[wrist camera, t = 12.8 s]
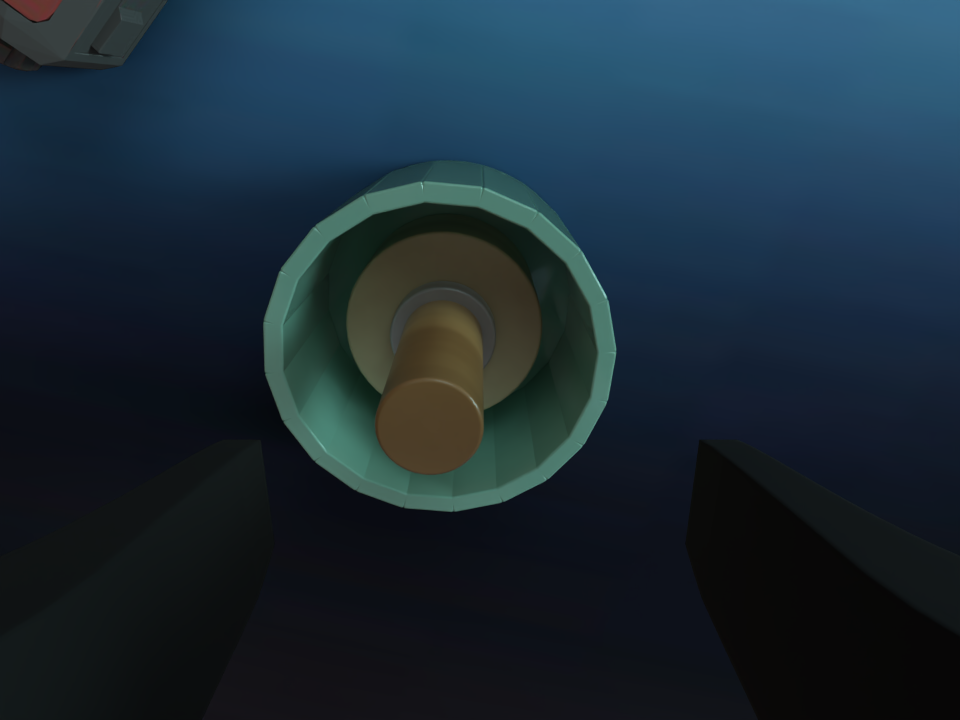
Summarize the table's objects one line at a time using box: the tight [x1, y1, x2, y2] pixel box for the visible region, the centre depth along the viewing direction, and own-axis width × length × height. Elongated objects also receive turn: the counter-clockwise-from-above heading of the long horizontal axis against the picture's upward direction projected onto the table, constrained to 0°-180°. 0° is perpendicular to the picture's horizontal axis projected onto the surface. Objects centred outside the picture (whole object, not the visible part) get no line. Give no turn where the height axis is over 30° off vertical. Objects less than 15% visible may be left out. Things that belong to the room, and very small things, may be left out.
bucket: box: [263, 160, 616, 512], centre depth 16 cm, size 7×7×5 cm
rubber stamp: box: [346, 214, 542, 475], centre depth 14 cm, size 5×5×8 cm
